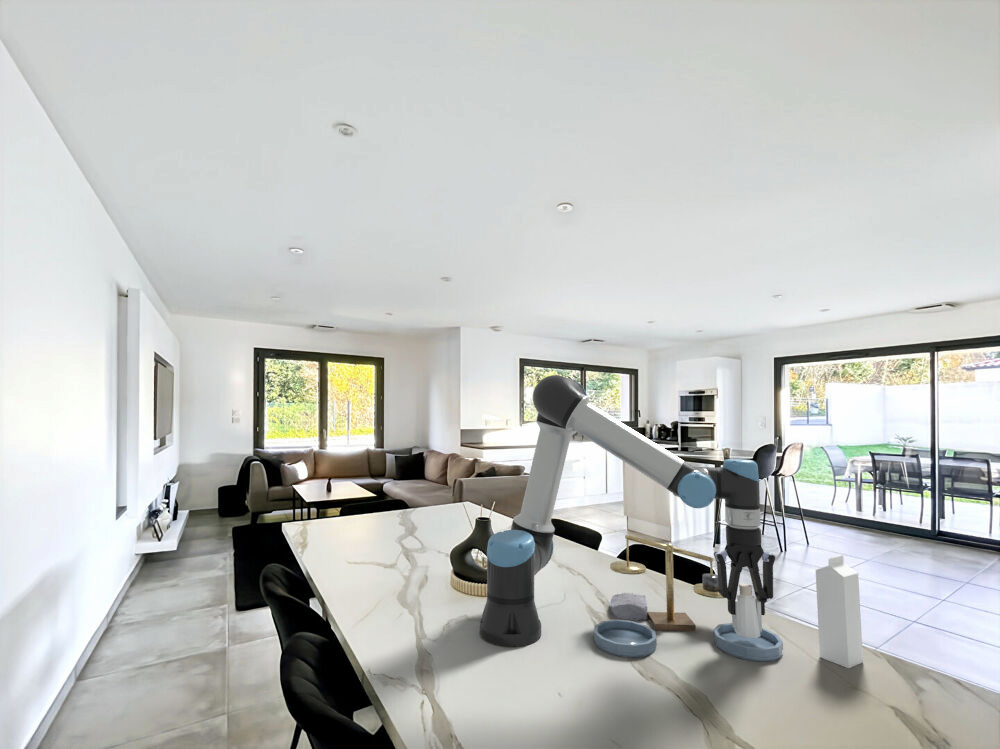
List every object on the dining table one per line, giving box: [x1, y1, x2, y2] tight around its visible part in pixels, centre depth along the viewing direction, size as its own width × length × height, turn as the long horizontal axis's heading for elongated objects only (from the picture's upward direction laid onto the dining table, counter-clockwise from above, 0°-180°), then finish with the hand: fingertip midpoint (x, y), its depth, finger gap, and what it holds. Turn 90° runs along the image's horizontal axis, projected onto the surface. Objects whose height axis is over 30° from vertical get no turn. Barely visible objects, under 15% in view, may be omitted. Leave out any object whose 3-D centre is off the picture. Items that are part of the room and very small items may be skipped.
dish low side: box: [712, 622, 784, 663], centre depth 116 cm, size 14×14×3 cm
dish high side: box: [593, 619, 657, 659], centre depth 118 cm, size 14×14×3 cm
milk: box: [815, 554, 864, 669], centre depth 111 cm, size 6×6×22 cm
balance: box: [609, 534, 725, 632], centre depth 130 cm, size 30×9×22 cm, turn 87°
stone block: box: [609, 592, 648, 621], centre depth 138 cm, size 12×5×10 cm
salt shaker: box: [735, 583, 760, 639], centre depth 117 cm, size 5×5×11 cm
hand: (747, 628), depth 116 cm, fingers closed on salt shaker, 4 cm apart
